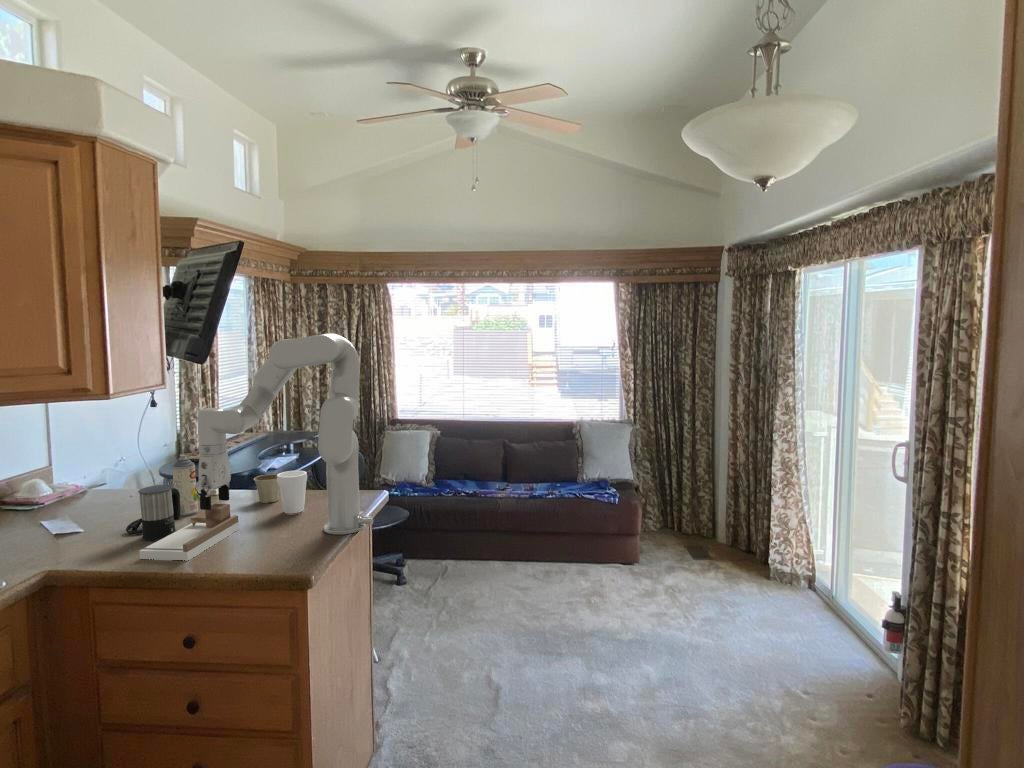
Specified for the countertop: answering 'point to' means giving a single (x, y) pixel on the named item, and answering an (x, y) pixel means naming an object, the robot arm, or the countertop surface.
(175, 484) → the aerosol can
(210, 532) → the board
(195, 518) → the wooden block
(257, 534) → the countertop surface
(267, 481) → the flower pot
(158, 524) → the milk frother
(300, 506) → the foam cup
